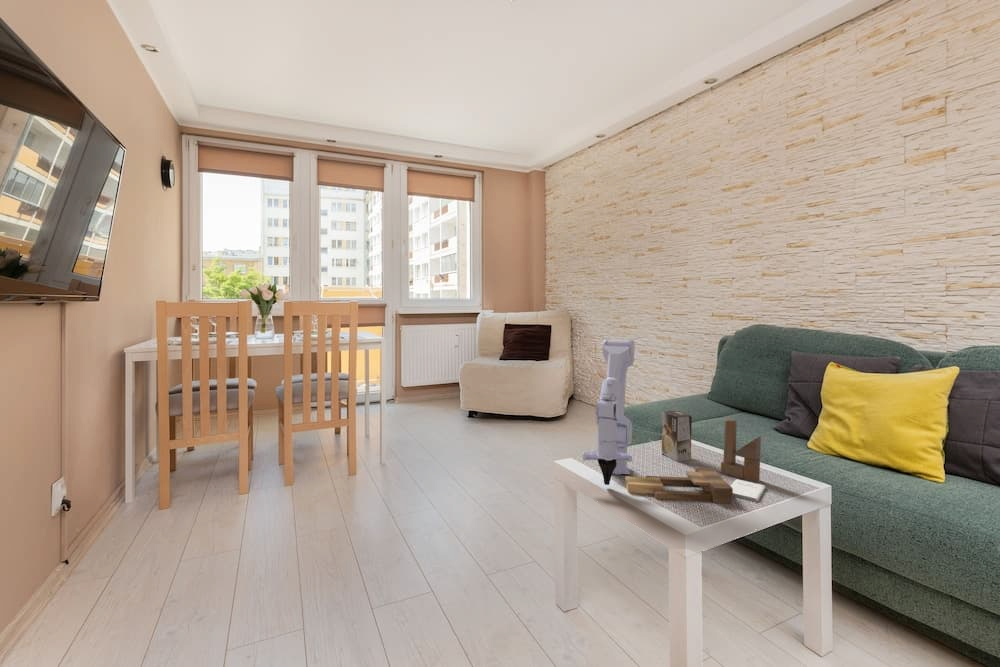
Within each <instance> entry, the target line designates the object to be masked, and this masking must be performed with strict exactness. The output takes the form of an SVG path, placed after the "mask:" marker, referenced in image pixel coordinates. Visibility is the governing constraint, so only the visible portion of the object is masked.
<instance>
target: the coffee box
mask: <svg viewBox="0 0 1000 667" xmlns="http://www.w3.org/2000/svg"><path fill="white" fill-rule="evenodd" d="M661 418H662V420H661V426H662V427H661V454H662V455H663V454H664V455H663V456H665V455H666V456H665V457H667V458H669V457H670V459H671V458H672V459H671V460H673V461H676V462H683V461H684V462H685V461H691V460H692V426H693V425H692V424H693V423H692V415H691V414H687V413H683V412H681V411H679V410H667V411H662V412H661Z"/></svg>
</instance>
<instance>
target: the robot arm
mask: <svg viewBox="0 0 1000 667" xmlns="http://www.w3.org/2000/svg"><path fill="white" fill-rule="evenodd" d="M635 348H636V344H635V341H634V340H633V339H608V338H606V339H604V341H603V343H602V355H603V358H604V361H605V363H606V365H607V369H606V373H607V374H606V379H603V380H602V382H601V390H600V394H599V400H597V401H596V403H595V408H594V409H595V411H594V412H595V419H596V420H595V422H596V425H597V432H596V433H597V437H596V438H597V439H596V440H597V444H596V446H597V449H596V451H585V452H583V451H582V453H581V454H582V455H581V456H582V461H590V460H591V461H597V463H598V465H599V468H600V470H601V474H602V478H603V484H604V485H606V486H607V485H608V486H610V483H611V478H612V475H621V474H631V473H630V470H629V469H628V462H631V463H632V461H633V456H632V453H628V446H630V445H631V444H632V440H633V424H632V421H631V420H630V419H629V418H628V417H627V416H625V404H626V403H625V402H626V400H625V399H626V387H627V386H626V384H627V372H628V369H629V367H631V366H633V365H634V362H635V350H636V349H635ZM612 473H613V474H612ZM614 473H615V474H614Z"/></svg>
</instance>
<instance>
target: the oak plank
mask: <svg viewBox="0 0 1000 667" xmlns="http://www.w3.org/2000/svg"><path fill="white" fill-rule="evenodd" d="M624 478H625V482H624V483H625V484H626V485H625V484H624V485H625V488H626V491H627V493H628V492H635V493H634V494H647V493H653V495H654V490H664V484H662V483H661V481H660V479H659V478H651V477H646V476H630V475H629V476H626V475H625V477H624Z"/></svg>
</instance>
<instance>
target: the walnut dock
mask: <svg viewBox="0 0 1000 667" xmlns="http://www.w3.org/2000/svg"><path fill="white" fill-rule="evenodd" d="M685 475H686V476H687V477H686V476H662V475H661V476H660V475H659V476H658V475H657V476H656V475H654V476H653V475H645V477H651V478H659V479H660V481H661V483H662V484H663V485H668V484H670V486H672V485H673V486H699V487H700V488H701V490H702V491H697V490H696V491H693V490H691V491H690V490H671V489H670V490H666V489H665V490H664V489H663V490H654V494H653V497H654V498H655V499H657V500H677V501H678V500H679V501H680V500H681V501H708V502H712V503H714V504H733V496H732V493H733V488H732V487H731V484H728V482H727V481H726V480H725V479H724V478H723V477H722V476H721V475H720V474H719V473H718V472H717V471H716V470H714V468H712V467H695V470H694V471H685Z"/></svg>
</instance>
